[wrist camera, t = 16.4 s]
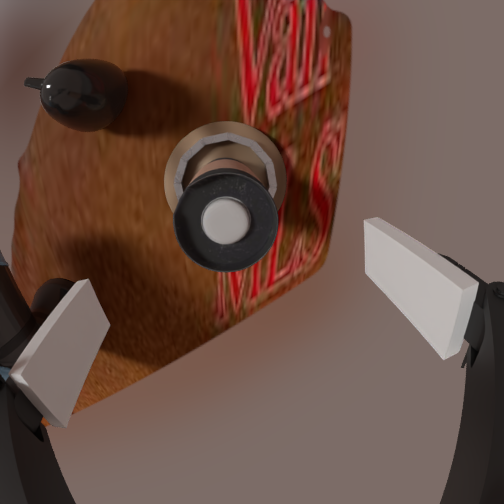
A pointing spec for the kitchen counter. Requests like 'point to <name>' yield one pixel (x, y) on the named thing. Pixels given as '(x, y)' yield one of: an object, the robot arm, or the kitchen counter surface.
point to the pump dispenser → (83, 93)
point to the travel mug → (225, 217)
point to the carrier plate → (229, 146)
